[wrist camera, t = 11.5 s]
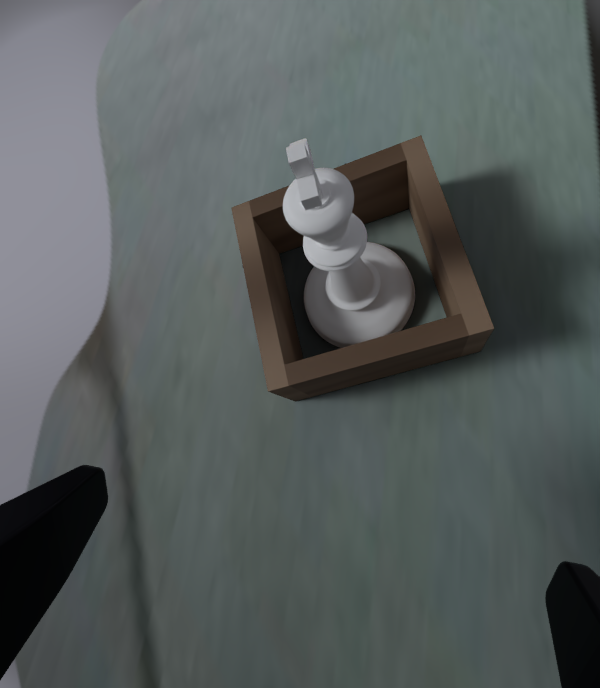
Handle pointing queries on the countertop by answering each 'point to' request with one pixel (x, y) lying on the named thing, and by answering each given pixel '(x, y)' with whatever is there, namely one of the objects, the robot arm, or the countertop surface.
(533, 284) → the countertop surface
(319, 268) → the chess piece
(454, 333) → the walnut collar
